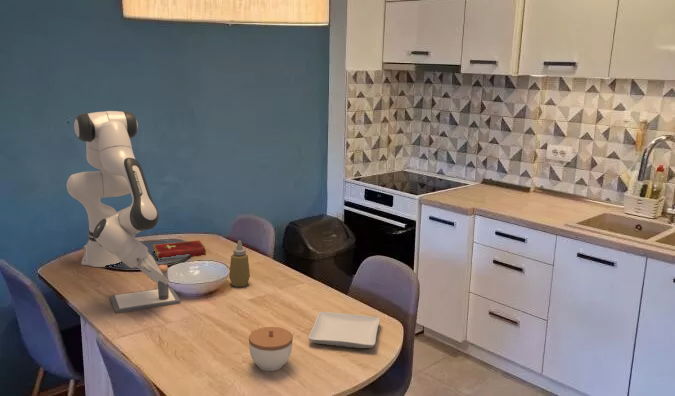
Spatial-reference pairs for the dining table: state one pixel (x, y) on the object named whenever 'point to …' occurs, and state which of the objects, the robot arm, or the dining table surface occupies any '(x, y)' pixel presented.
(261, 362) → the lidded bowl
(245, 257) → the squeeze bottle
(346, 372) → the dining table surface
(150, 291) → the writing board
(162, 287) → the marker
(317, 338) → the salad plate
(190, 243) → the hardcover book
